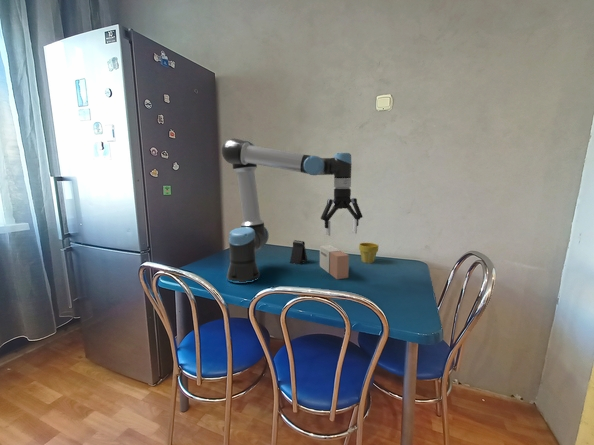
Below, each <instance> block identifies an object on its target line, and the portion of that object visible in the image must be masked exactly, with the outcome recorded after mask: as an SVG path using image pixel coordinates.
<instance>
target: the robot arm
mask: <svg viewBox="0 0 594 445" xmlns="http://www.w3.org/2000/svg"><path fill="white" fill-rule="evenodd" d="M221 156H222V157H223V159H224V161H225V162H227V163H229V164H231V165H232V170H233V172H234V173H236V177H237V183H238V184H237V185H238V191H239V199H240V204H241V214H242V218H243V219H242V222H241V224H240V227H236V228H234V229H232V230H230V231H229V236H228V245H229V247H228V248H229V266H228V270H227V274H226V279H227V278H228V279H229V280H232V281H239V282H246V281H252V280H255V279H257V278H259V276H261V275H260V273H261V272H260V271H259V267H258V265H257V262H256V251H258V250H260V249H261V248H263V247H264V246H265V245H266V244H268V241H269V235H270V234H269V230H268V229H267V228H266V227H265V222H264V220H262V219H261V213H260V206H259V198H258V191H257V190H258V188H257V184H256V183H257V182H256V175H255V172H256V170H257V168H258V166H263V167H270V168H274V169H280V170H287V171H291V172H297V173H303V174H307V175H309V176H329V175H331V176H332V175H333V178H334V180H333V187H334V189H333V199H330V198H328V199H327V201H326V202H327V203H326V205H325V207H324V210H323V212H322V214H321V216H320V220H322V221H324V228H325V230H326V232H325V234H326V235H327V236H329V237H331V221H330V220H331V218H332V217H333V215H334V214H335V213H336V212H337V210H339V209H340V210H341V209H346V210H348V212H349V213H350V214H351V215H352V218H353V219H352V233H353V234H355V235H356V234H358V233H357V232H358V229H357V228H358V226H359V220H360V219H361V218H364V216H363V214H362V212H361V209H360V207H359V204H358V199H357V198H355V197H352V198H351V196H352V195H351V194H352V193H351V192H352V190H351V187H352V165H353V164H352V154H351V153H349V152H337V153H336V152H335V153H334V156H333V157H320V156H317V155H311V154H310V155H309V154H303V153H297V152H292V151H286V150H285V151H284V150H279V149H275V148H270V147H269V148H267V147H263V146H256V145H254V144H253V143H252V142H251V141H248V140H243V139H240V138H235V137H234V138H230V139H227V140H225V142H224V143H223V144H222V146H221ZM257 165H258V166H257ZM333 204H334V205H333ZM351 204H352V206H351ZM332 205H333V206H332ZM259 279H260V278H259Z"/></svg>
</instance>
